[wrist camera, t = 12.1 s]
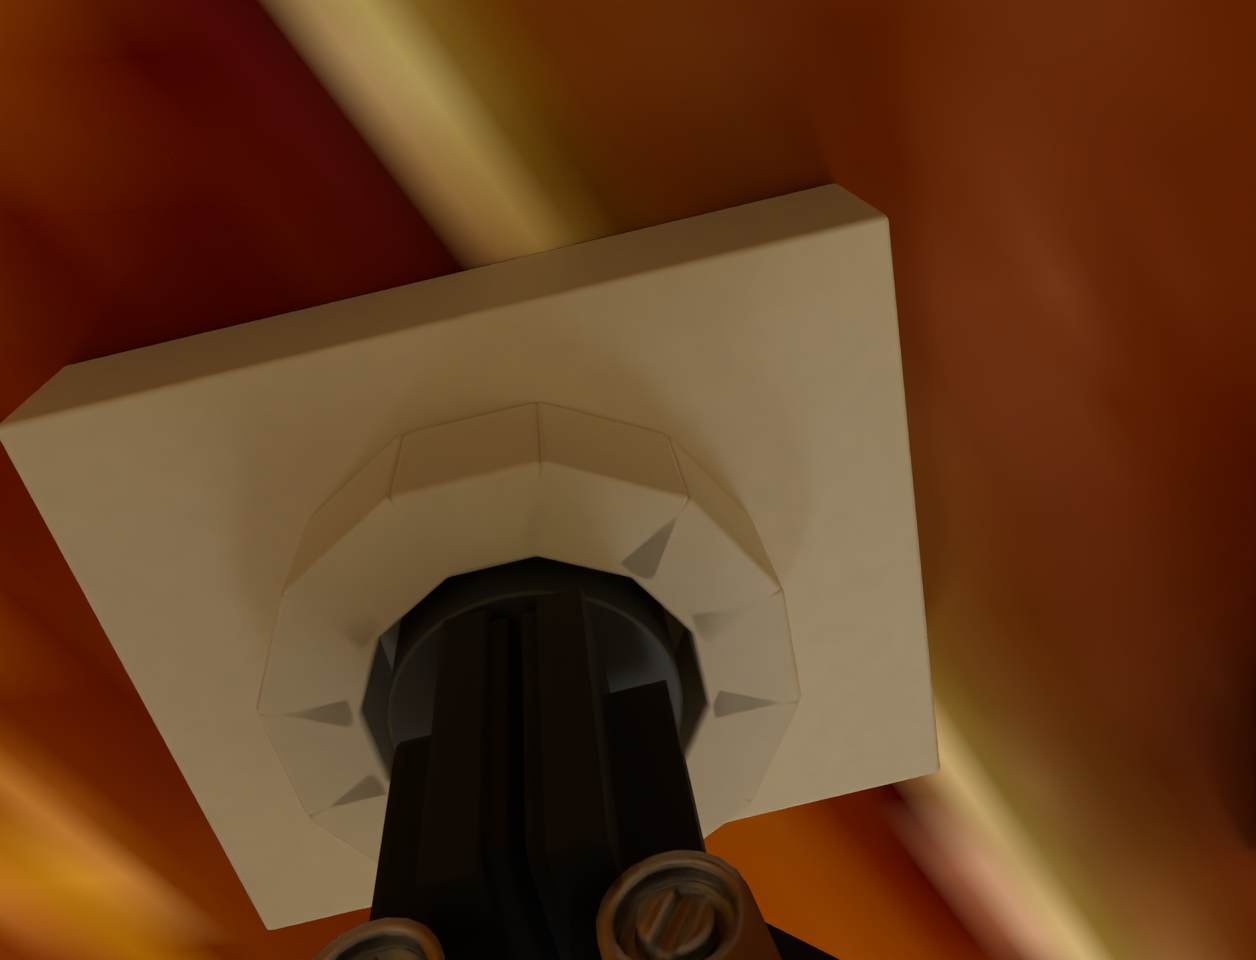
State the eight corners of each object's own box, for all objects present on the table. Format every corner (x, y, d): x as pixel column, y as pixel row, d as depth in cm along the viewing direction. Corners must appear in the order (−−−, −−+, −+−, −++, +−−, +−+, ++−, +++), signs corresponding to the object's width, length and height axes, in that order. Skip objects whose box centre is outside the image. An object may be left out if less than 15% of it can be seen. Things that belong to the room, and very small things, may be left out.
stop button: (444, 763, 15) (436, 856, 13) (363, 555, 13) (344, 634, 12) (686, 706, 15) (707, 791, 13) (635, 490, 13) (652, 561, 12)
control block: (292, 829, 18) (240, 1039, 15) (62, 364, 14) (-88, 497, 11) (895, 687, 18) (989, 860, 15) (837, 180, 14) (948, 251, 11)
